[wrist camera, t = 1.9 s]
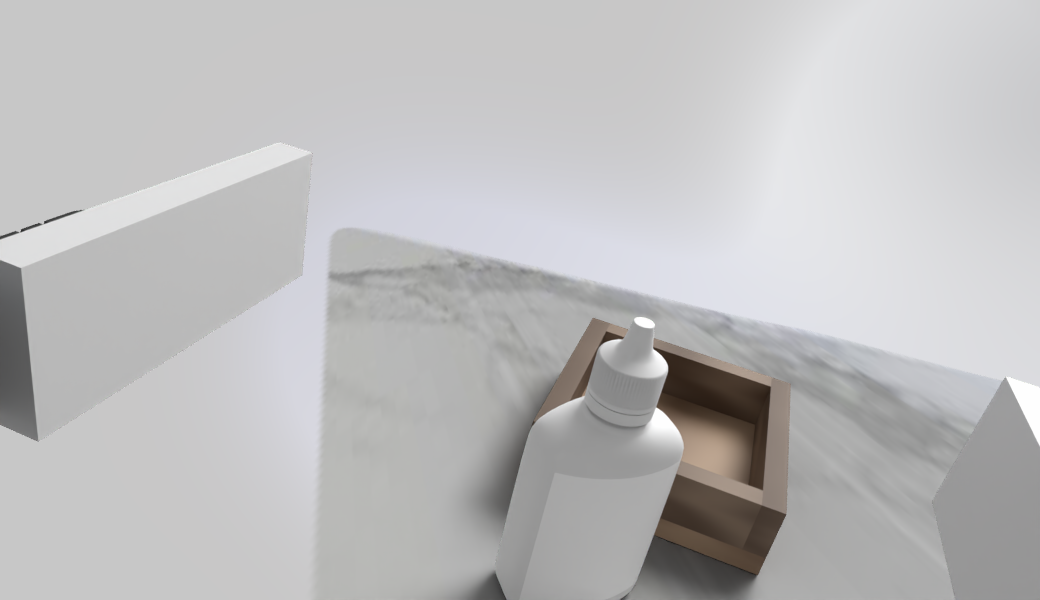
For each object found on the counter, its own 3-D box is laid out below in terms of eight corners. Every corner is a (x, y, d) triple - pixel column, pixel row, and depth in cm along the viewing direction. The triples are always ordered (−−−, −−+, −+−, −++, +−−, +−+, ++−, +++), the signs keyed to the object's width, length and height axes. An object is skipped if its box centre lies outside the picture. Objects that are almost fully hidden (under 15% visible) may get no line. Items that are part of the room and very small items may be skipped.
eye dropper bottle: (631, 646, 29) (736, 379, 23) (484, 607, 29) (553, 333, 23) (633, 559, 33) (723, 312, 27) (503, 525, 33) (566, 274, 27)
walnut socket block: (768, 435, 43) (790, 383, 41) (757, 575, 33) (786, 514, 32) (578, 369, 45) (593, 317, 43) (517, 482, 35) (533, 421, 34)
